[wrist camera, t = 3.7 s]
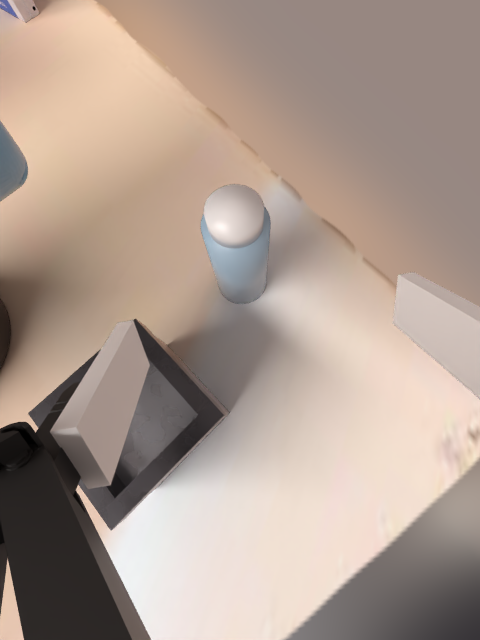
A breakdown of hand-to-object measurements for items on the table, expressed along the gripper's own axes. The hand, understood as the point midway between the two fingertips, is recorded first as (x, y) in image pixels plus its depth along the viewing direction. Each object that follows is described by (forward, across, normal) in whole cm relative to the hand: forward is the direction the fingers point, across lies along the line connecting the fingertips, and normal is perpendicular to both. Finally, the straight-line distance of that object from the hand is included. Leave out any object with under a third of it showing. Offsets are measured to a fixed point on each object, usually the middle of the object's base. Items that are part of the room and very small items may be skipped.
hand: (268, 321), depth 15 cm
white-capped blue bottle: (+16, 0, -4) cm, 16 cm away
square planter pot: (+8, -10, -12) cm, 17 cm away
